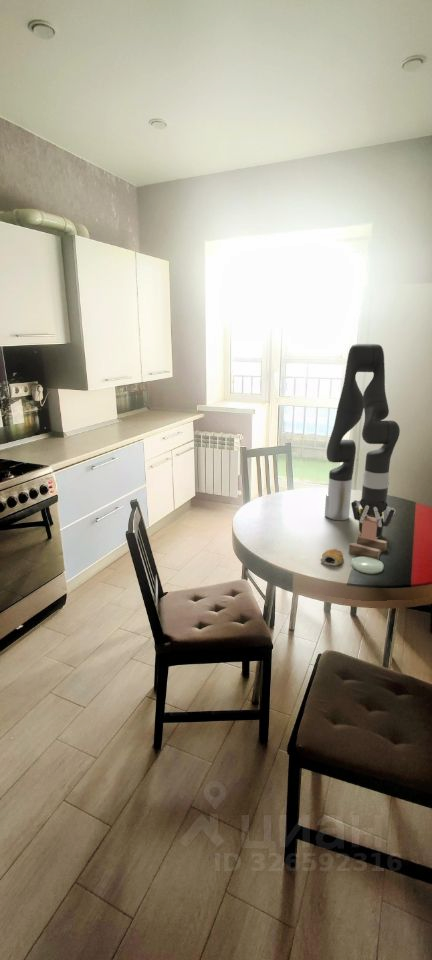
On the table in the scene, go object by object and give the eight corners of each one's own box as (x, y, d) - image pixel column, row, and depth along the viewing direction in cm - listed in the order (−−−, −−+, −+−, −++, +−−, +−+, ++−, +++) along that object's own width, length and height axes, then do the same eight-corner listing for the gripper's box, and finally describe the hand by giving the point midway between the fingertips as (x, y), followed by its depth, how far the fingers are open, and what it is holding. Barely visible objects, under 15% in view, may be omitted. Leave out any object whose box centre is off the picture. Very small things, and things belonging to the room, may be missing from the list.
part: (361, 537, 143) (362, 520, 141) (365, 532, 146) (367, 516, 144) (374, 540, 140) (376, 523, 138) (379, 536, 144) (380, 518, 142)
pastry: (327, 552, 156) (328, 542, 155) (346, 557, 153) (347, 547, 152) (319, 563, 149) (320, 553, 148) (339, 568, 146) (340, 558, 144)
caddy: (348, 552, 156) (349, 544, 155) (358, 542, 163) (359, 534, 162) (377, 560, 150) (378, 551, 149) (386, 549, 158) (387, 541, 157)
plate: (347, 567, 145) (347, 565, 145) (357, 556, 153) (357, 553, 153) (377, 576, 140) (378, 574, 139) (387, 564, 147) (387, 561, 147)
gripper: (348, 483, 139) (344, 533, 144) (395, 491, 131) (389, 544, 136) (357, 477, 145) (352, 526, 150) (402, 485, 137) (396, 535, 142)
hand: (370, 534), depth 143 cm, fingers closed on part, 4 cm apart
